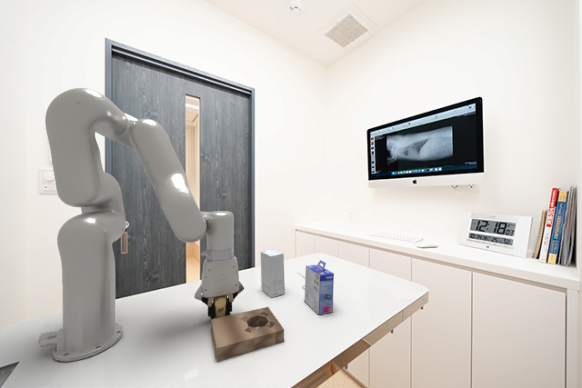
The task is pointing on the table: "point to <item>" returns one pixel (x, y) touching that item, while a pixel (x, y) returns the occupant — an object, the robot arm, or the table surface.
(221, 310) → the brass cylinder
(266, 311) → the jig
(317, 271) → the ink cartridge box
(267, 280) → the skincare box
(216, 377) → the table surface
